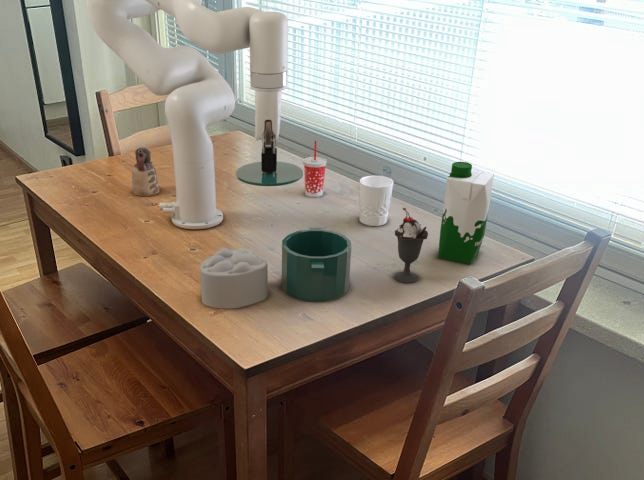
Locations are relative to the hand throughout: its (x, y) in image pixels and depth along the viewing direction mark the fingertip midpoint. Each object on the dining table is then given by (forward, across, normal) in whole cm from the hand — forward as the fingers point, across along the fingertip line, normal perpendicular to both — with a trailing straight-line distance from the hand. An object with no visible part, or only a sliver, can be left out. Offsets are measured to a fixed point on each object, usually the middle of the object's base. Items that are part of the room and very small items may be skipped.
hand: (269, 168), depth 156 cm
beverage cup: (+18, -31, +11) cm, 37 cm away
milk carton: (+18, +6, +42) cm, 46 cm away
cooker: (+18, +21, +10) cm, 29 cm away
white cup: (+18, -13, +25) cm, 33 cm away
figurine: (+18, -32, -34) cm, 50 cm away
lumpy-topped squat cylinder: (+18, +25, -7) cm, 32 cm away
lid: (+1, 0, 0) cm, 1 cm away
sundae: (+18, +17, +29) cm, 38 cm away
